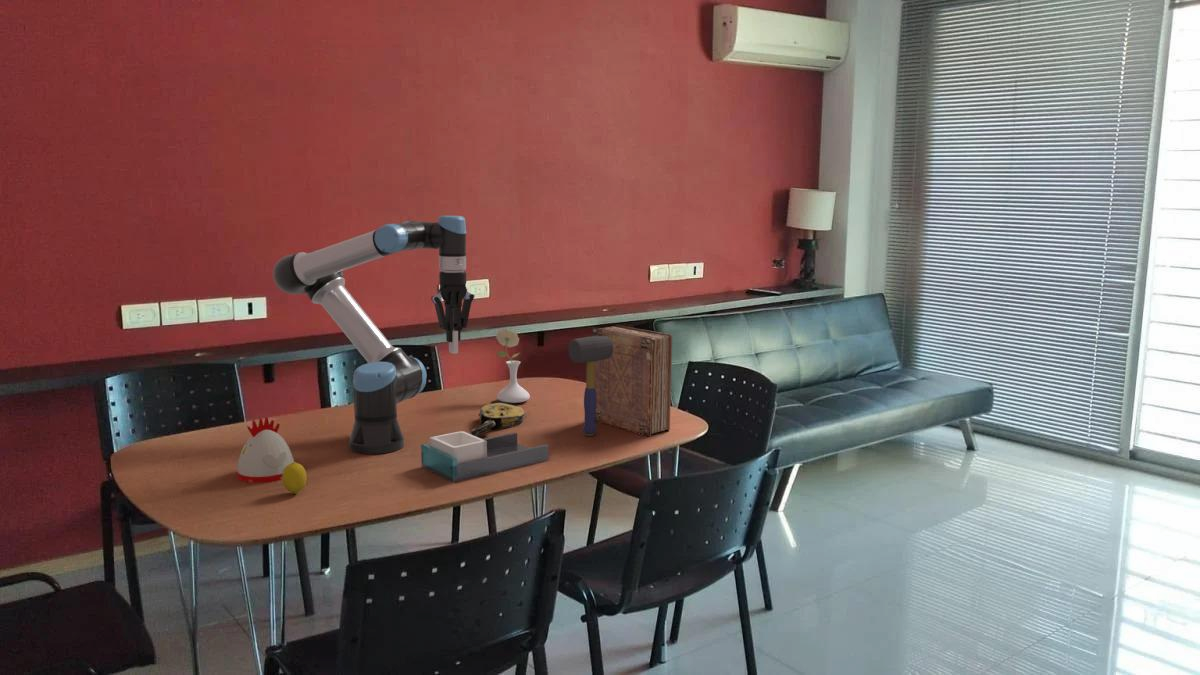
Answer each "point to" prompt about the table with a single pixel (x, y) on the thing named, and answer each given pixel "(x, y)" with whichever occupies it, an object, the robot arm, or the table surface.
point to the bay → (499, 458)
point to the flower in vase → (511, 370)
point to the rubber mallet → (590, 371)
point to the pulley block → (498, 417)
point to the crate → (460, 446)
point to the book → (634, 380)
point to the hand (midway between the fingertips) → (453, 352)
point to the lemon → (294, 477)
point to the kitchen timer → (263, 454)
